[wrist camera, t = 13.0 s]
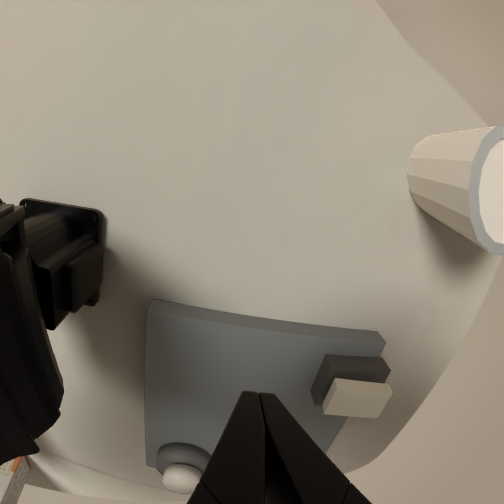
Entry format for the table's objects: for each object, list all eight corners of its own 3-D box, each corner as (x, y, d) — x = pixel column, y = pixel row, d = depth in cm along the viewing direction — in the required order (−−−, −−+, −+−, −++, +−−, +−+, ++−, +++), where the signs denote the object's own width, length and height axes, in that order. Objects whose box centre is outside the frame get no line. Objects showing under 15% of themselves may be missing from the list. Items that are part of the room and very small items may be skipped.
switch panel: (149, 454, 25) (144, 478, 22) (152, 298, 19) (140, 323, 16) (307, 468, 27) (312, 491, 24) (381, 331, 21) (398, 355, 18)
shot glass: (470, 222, 19) (535, 251, 13) (397, 226, 19) (462, 262, 12) (472, 131, 17) (543, 134, 10) (397, 120, 17) (468, 114, 10)
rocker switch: (322, 403, 19) (323, 414, 18) (334, 377, 18) (336, 387, 17) (374, 408, 19) (377, 418, 18) (388, 383, 18) (392, 393, 17)
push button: (164, 478, 21) (162, 490, 20) (164, 461, 20) (162, 474, 19) (199, 483, 22) (199, 495, 20) (203, 467, 21) (202, 480, 19)
